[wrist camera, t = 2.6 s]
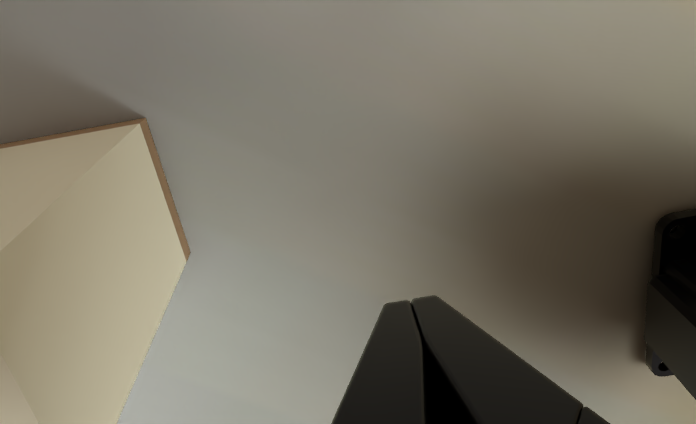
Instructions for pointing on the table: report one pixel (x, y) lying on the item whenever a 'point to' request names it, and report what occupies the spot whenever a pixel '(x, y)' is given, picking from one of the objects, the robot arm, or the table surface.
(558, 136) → the table surface
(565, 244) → the table surface
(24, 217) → the cream block
